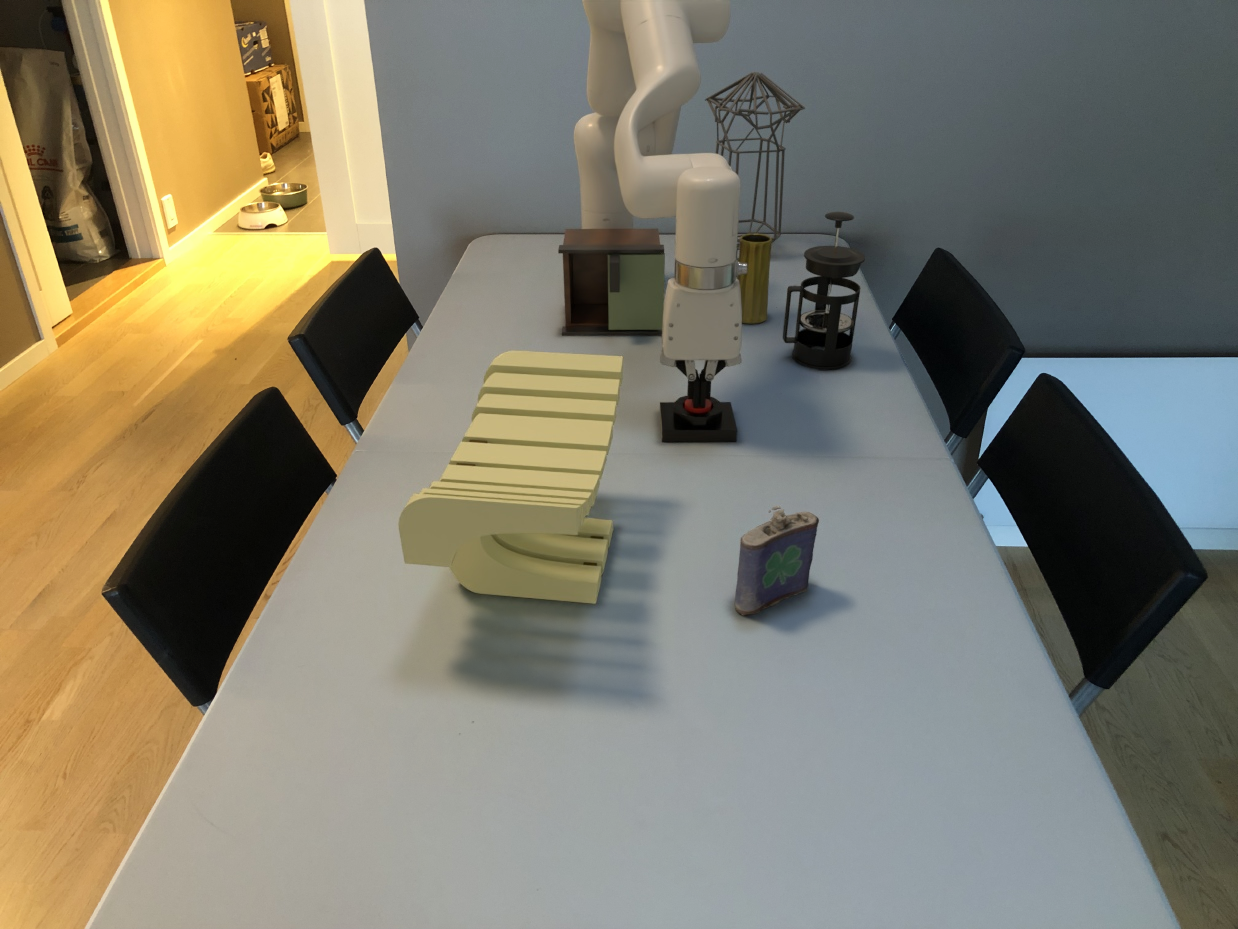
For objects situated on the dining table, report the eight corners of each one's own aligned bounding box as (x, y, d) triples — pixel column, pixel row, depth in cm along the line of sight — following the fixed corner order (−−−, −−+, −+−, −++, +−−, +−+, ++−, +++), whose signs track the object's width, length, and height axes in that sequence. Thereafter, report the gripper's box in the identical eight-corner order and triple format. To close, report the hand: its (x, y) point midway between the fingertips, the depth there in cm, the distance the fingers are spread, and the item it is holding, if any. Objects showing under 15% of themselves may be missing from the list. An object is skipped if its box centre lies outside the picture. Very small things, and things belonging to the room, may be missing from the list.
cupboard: (561, 335, 146) (558, 249, 138) (565, 307, 157) (562, 226, 149) (662, 335, 146) (664, 249, 138) (659, 307, 157) (661, 225, 149)
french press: (847, 345, 142) (868, 204, 130) (862, 370, 134) (885, 222, 122) (776, 345, 142) (790, 205, 130) (786, 370, 134) (802, 223, 122)
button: (685, 420, 117) (685, 409, 116) (683, 407, 120) (684, 396, 119) (711, 420, 117) (712, 409, 116) (709, 407, 120) (710, 396, 119)
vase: (769, 324, 150) (776, 243, 142) (733, 324, 150) (739, 243, 142) (764, 311, 155) (771, 232, 147) (730, 310, 155) (735, 232, 148)
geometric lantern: (695, 244, 187) (703, 68, 169) (763, 238, 190) (778, 65, 172) (719, 268, 174) (731, 80, 156) (792, 261, 177) (812, 76, 159)
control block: (661, 442, 116) (662, 419, 114) (659, 413, 123) (660, 391, 121) (736, 442, 116) (738, 419, 114) (730, 413, 123) (731, 391, 121)
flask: (743, 619, 86) (752, 533, 81) (726, 603, 89) (733, 517, 83) (814, 589, 90) (827, 504, 85) (795, 573, 93) (806, 490, 87)
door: (608, 338, 143) (607, 262, 136) (608, 328, 147) (607, 253, 140) (664, 338, 143) (665, 262, 136) (662, 327, 147) (664, 252, 140)
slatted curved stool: (497, 479, 109) (485, 348, 99) (623, 488, 107) (622, 356, 97) (419, 647, 83) (392, 494, 74) (582, 662, 82) (576, 508, 72)
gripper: (760, 262, 111) (750, 390, 120) (643, 262, 111) (642, 390, 120) (769, 282, 104) (757, 416, 114) (645, 283, 104) (643, 416, 114)
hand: (698, 402), depth 117 cm, fingers closed
